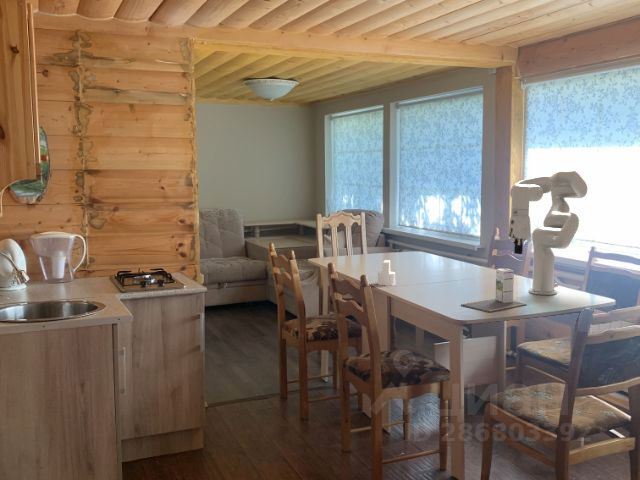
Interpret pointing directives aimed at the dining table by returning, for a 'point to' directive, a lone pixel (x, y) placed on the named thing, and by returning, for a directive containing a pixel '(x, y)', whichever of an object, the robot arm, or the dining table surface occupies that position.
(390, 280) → the base with upright slab
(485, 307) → the mat
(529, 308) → the dining table surface
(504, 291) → the syrup box
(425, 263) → the dining table surface
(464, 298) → the dining table surface
